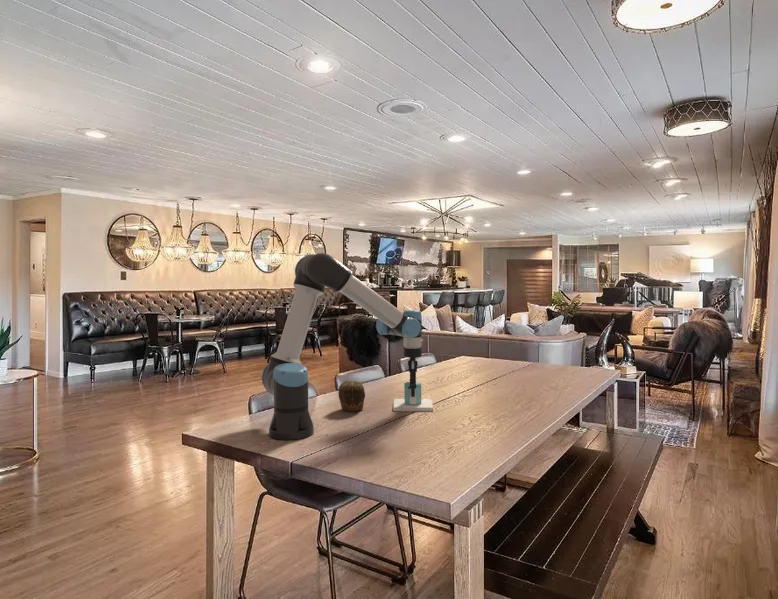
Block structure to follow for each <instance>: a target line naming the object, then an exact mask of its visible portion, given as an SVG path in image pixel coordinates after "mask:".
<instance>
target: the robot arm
mask: <svg viewBox="0 0 778 599" xmlns="http://www.w3.org/2000/svg"><path fill="white" fill-rule="evenodd" d="M294 276H295V277H294V278H295V279H294V281H293V284H292V285H293V288H294V289H295V291H294V295H293V298H292V302H291V303H290V304H291V305H290V308H289V311H288V314H287V318H286V322H285V323H284V327H283V330H282V334H281V336H280V340H279V344H278V347H277V350H276V352H275V353H273V354H271V355H270V357H269V361H268V364H267V365H266V366H265V367H264V368H263V370H262V373H261V383H262V385H263V387H264V388H265V390H266V391H267V392H268V393H269V394H271V395H273V414H272V418H271V420H270V424H269V427H268V435H269V437H270V438H271V439H272V438H273V439H276V440H280V441H281V440H282V441H284V440H285V441H287V440H288V441H290V440H291V441H295V440H300V439H305V438H308V437H310V436H312V435H314V432H315V428H314V423H313V420H312V417H311V414H310V412H309V377H310V376H309V372H308V370H309V369H308V368H307V367H306V366H305V365H303V364H302V361H301V360H300V358H301V357H300V356H301V353H302V350H303V348H304V344H305V341H306V338H307V334H308V331H309V327H310V325H311V322H312V317H313V314H314V311H315V307H316V304H317V301H318V299H319V298H318V297H320V296H322V295H323V294H324V292H325V290H326V288H328V289H330V290H332V291H334V293H341V294H342V295H343V296H345V297H346V298H348V299H350V300H351V301H352V302H353V303H355V304H356V305H358V306H359V307H361V308H362V309H363V310H365V311H366V312H368V313H369V314H370V315H372V316H373V317H375V318H377V320H376V324H375V325H376V326H375V327H376V331H377V332H378V334H379V335H381V336H382V335H385V336H386V335H393V336H399V337H403V347H404V348H403V356H404V358H409V360H407V364H408V365H407V366H408V373H409V382H410V387H408V389H410V404H416V382H417V372H418V360H417V359H416V358H421V357H422V356H423V351H422V350H423V349H422V346H423V345H422V342H424V339H423V338H422V335H423V334H422V332H423V331H422V328H423V326H422V324H423V319H422V318H423V317H422V311H420V310H419V309H407V310H404V311H402V310H400V309H399V308H398V307H396V306H394V304H392V303H391V302H389V301H388V300H386V299H385V298H384V297H383V296H381V295H380V294H379V293H377V292H376V291H375V290H373V289H372V288H370V287H369V286H368V285H366V283H363V282H362V281H361V280H360V279H359V278H357V277H356V276H354V275H353V271H352V270H351V269H350V268H349V267H347V266H346V265H344V264H343V263H342V262H341V261H339V260H338V259H337V258H335V257H334V256H333V255H330V254H328V253H326V252H325V253H323V252H321V253H320V252H319V253H311V254H307V255H305V256H302V257H301V258H300V259H299V260H298V261H297V262H296V265H295V268H294Z"/></svg>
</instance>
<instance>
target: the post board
mask: <svg viewBox="0 0 778 599" xmlns="http://www.w3.org/2000/svg"><path fill="white" fill-rule="evenodd" d="M392 410H393V412H433V411H434V405H433V400H432V398H421V403H420V404H406V403H405V398H394V401H393V408H392Z"/></svg>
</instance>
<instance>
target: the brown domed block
mask: <svg viewBox="0 0 778 599" xmlns="http://www.w3.org/2000/svg"><path fill="white" fill-rule="evenodd" d="M365 398H366V392H365V387H364V385H363V384H362V383H361V382H360V381H357V380H344V381H343V382H341V384H340V385H339V387H338V399H339V402H340V407H341V409H342V411H343V412H346V411H347V412H348V413H356V412H357V411H358V412H362V411H363V409H364V404H365V403H364V402H365ZM347 412H346V413H347Z"/></svg>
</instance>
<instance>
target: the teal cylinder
mask: <svg viewBox="0 0 778 599" xmlns="http://www.w3.org/2000/svg"><path fill="white" fill-rule="evenodd" d="M403 385H404V396H403V397H404V398H403V399H405V403H406V404H410V389H408V387H410V381H405V382H404V383H403ZM421 399H422V382H421V381H416V404H420V403H421Z"/></svg>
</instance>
